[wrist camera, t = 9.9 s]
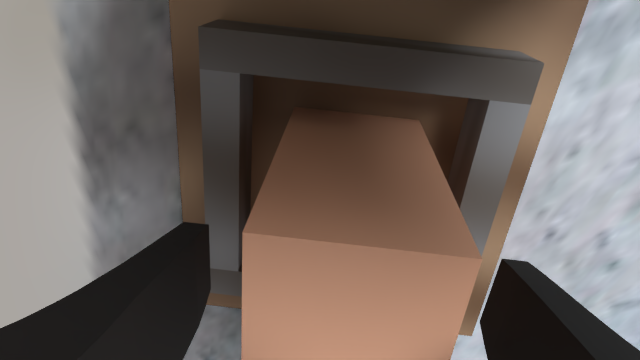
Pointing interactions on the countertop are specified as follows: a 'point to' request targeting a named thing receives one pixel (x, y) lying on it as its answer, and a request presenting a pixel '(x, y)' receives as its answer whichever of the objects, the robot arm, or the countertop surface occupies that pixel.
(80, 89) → the countertop surface
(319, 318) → the peg
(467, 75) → the socket stand
